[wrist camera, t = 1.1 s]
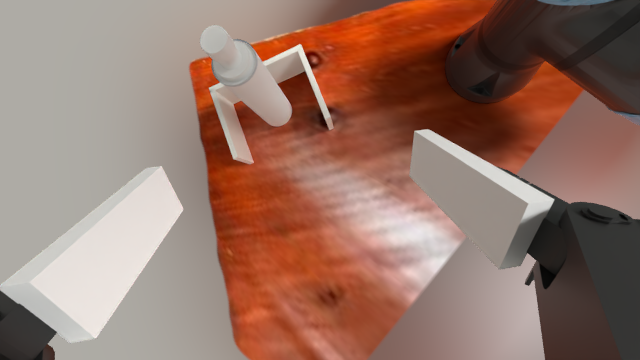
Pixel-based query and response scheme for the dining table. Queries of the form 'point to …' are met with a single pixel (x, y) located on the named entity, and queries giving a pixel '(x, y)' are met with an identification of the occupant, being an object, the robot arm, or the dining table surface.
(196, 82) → the dining table surface
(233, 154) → the storage bay
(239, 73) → the white bottle
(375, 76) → the dining table surface
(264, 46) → the dining table surface
